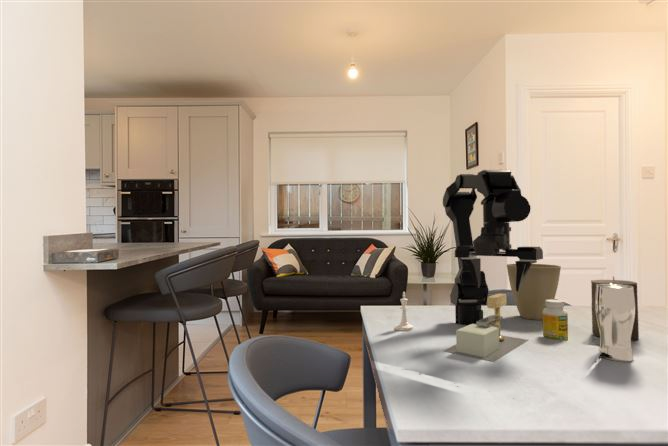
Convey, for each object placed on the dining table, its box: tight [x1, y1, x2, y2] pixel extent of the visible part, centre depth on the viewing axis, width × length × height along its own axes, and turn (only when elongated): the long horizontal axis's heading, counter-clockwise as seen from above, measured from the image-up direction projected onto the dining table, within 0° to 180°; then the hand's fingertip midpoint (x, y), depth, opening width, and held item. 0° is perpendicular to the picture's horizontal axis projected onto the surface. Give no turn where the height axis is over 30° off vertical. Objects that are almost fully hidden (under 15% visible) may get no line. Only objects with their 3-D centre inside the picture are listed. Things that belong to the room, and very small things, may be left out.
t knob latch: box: [476, 293, 507, 341], centre depth 94 cm, size 3×12×10 cm, turn 138°
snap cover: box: [455, 324, 499, 357], centre depth 88 cm, size 6×8×4 cm
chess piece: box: [394, 291, 414, 332], centre depth 112 cm, size 5×5×10 cm
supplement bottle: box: [542, 299, 569, 342], centre depth 99 cm, size 5×5×10 cm
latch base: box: [442, 335, 529, 363], centre depth 91 cm, size 11×21×1 cm, turn 137°
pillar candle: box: [590, 276, 640, 342], centre depth 103 cm, size 10×10×15 cm
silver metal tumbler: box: [595, 284, 635, 363], centre depth 86 cm, size 7×7×15 cm
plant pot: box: [506, 263, 561, 321], centre depth 125 cm, size 15×15×16 cm
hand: (497, 289), depth 96 cm, fingers open, 9 cm apart
